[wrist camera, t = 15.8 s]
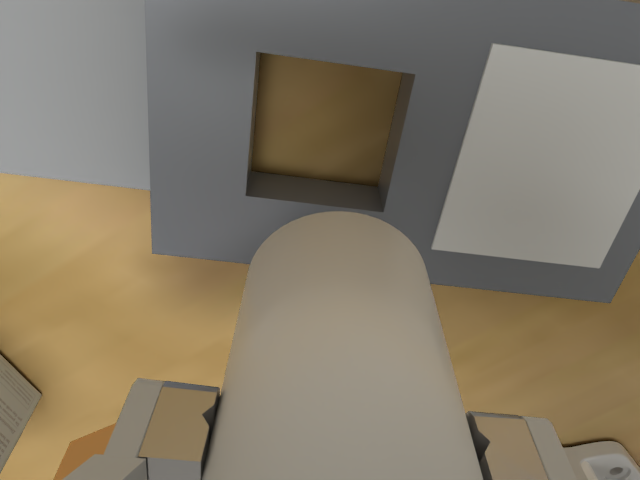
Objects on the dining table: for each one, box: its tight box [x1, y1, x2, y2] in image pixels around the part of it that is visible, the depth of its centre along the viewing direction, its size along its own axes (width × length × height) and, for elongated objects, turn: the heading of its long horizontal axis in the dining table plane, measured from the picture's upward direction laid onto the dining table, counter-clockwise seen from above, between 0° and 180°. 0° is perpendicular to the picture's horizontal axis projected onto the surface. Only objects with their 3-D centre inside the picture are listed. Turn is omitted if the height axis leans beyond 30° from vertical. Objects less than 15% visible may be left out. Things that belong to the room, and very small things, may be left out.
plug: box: [202, 211, 483, 480], centre depth 10 cm, size 5×5×9 cm
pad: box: [0, 0, 150, 190], centre depth 22 cm, size 10×10×1 cm
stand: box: [144, 0, 640, 303], centre depth 19 cm, size 22×13×13 cm, turn 82°
